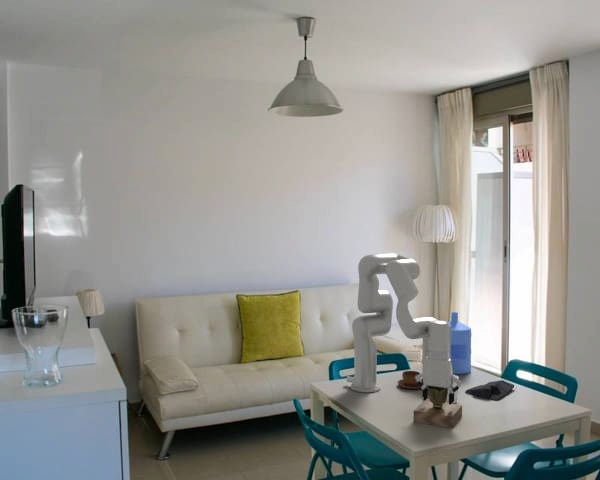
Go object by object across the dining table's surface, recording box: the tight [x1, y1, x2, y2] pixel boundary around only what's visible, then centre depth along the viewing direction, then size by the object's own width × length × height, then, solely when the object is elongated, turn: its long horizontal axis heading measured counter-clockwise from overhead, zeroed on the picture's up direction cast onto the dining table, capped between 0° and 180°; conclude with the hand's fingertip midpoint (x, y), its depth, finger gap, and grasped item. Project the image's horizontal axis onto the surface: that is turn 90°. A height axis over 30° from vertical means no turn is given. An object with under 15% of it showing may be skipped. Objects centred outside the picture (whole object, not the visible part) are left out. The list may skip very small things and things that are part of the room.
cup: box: [427, 386, 448, 409], centre depth 211 cm, size 8×7×8 cm
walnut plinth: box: [413, 399, 463, 429], centre depth 211 cm, size 14×14×4 cm
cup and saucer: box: [397, 370, 423, 390], centre depth 252 cm, size 12×12×6 cm
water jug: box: [447, 311, 472, 375], centre depth 278 cm, size 16×16×28 cm
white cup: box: [445, 374, 460, 404], centre depth 231 cm, size 8×8×10 cm
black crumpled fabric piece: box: [464, 379, 515, 401], centre depth 244 cm, size 15×22×5 cm
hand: (438, 401), depth 211 cm, fingers open, 9 cm apart
